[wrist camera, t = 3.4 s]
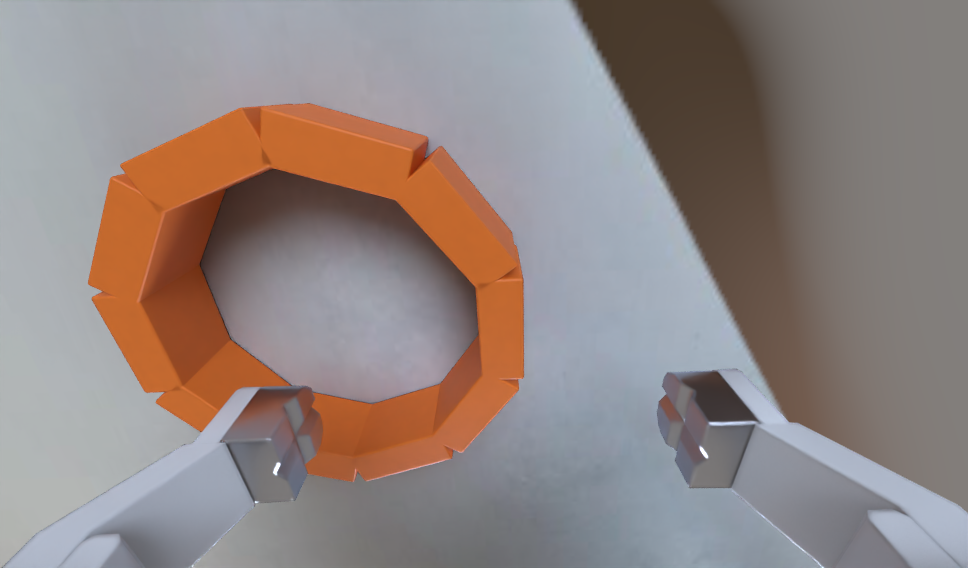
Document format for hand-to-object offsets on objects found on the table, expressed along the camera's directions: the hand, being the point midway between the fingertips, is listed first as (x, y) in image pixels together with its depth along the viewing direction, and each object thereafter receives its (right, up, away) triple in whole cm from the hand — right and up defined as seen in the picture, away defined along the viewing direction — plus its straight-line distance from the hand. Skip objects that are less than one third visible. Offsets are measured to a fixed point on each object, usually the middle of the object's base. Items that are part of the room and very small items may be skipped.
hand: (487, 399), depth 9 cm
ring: (-5, +2, +5) cm, 8 cm away
